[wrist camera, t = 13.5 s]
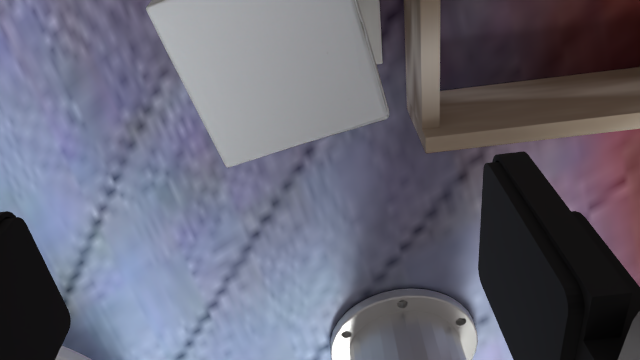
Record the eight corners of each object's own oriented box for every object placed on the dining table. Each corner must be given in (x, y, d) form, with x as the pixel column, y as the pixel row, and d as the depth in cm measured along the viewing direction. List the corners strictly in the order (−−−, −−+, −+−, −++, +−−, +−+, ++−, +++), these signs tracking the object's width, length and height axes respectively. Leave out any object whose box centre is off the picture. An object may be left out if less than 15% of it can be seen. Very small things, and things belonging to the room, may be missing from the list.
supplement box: (193, -58, 29) (136, 0, 19) (324, -106, 28) (342, -74, 18) (245, 66, 33) (222, 173, 23) (361, 27, 32) (395, 120, 22)
